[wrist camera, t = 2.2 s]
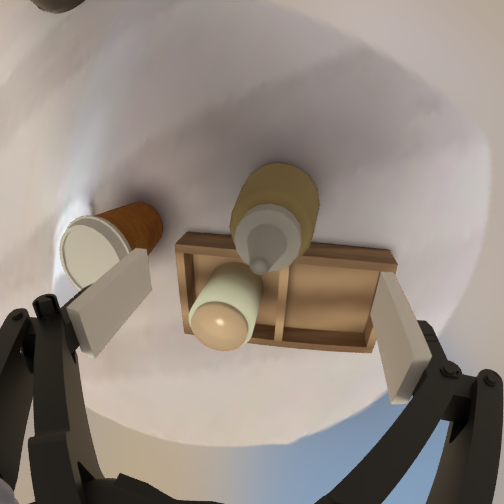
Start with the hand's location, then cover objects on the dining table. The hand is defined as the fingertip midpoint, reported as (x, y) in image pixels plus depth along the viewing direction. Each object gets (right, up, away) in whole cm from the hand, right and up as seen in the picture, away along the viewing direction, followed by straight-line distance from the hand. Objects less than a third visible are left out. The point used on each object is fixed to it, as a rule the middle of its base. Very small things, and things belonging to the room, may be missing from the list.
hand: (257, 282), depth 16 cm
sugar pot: (-2, -3, +22) cm, 22 cm away
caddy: (+4, -3, +22) cm, 23 cm away
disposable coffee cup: (-15, +5, +22) cm, 27 cm away
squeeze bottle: (+3, +8, +18) cm, 20 cm away
